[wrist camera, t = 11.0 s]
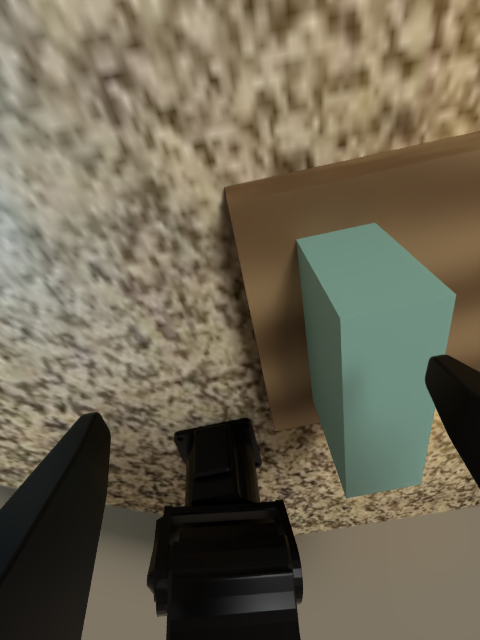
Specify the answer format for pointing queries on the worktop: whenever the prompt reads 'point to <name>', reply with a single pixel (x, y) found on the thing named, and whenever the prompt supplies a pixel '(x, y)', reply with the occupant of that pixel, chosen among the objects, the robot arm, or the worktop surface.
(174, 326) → the worktop surface
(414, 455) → the tapered teal post
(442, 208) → the board
